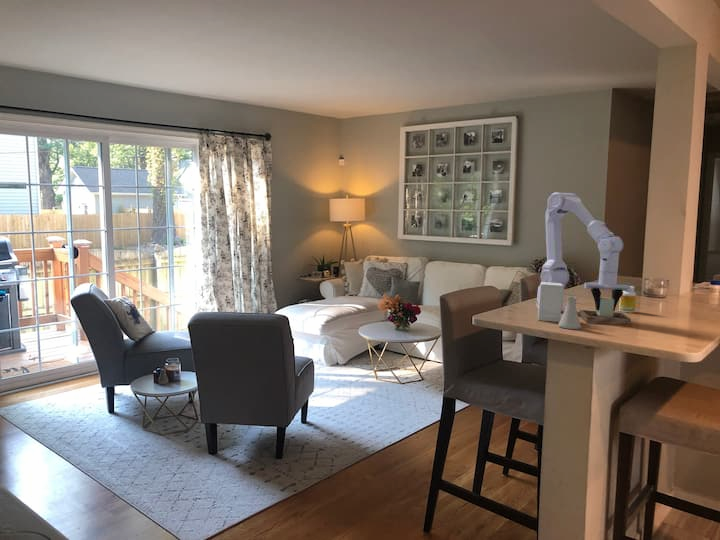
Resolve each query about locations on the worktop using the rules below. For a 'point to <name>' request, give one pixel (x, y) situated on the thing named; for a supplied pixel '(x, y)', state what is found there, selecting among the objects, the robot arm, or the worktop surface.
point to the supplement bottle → (628, 301)
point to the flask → (570, 315)
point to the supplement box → (550, 301)
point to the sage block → (606, 307)
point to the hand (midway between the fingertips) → (604, 310)
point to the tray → (605, 318)
